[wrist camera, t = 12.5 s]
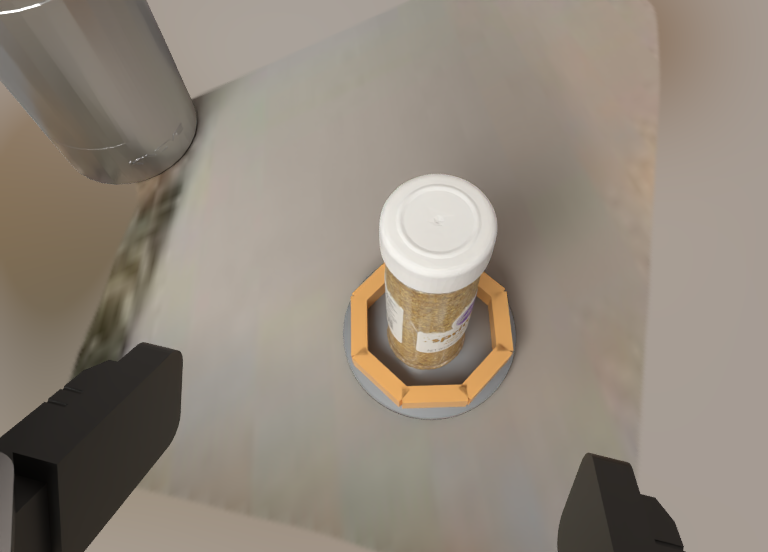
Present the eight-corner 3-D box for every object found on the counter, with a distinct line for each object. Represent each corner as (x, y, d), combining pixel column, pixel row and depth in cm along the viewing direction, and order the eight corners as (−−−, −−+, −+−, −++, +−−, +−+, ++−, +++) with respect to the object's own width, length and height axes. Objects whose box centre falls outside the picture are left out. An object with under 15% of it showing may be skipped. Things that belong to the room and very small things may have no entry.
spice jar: (453, 381, 34) (482, 289, 22) (375, 357, 35) (361, 255, 22) (473, 308, 36) (511, 185, 23) (399, 287, 36) (398, 156, 24)
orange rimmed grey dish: (308, 337, 36) (304, 326, 34) (422, 228, 39) (423, 212, 37) (435, 458, 33) (438, 453, 31) (548, 330, 36) (556, 318, 34)
